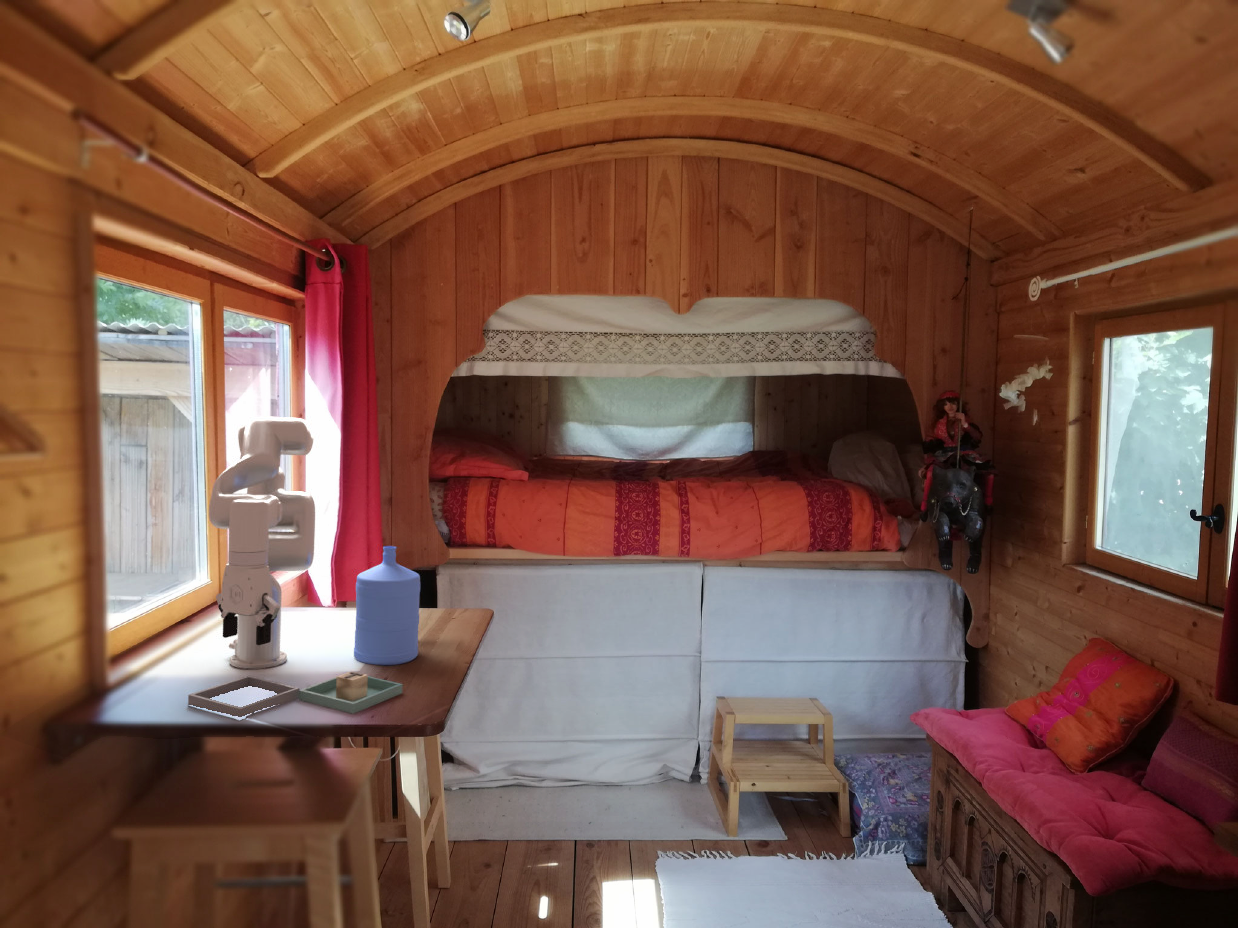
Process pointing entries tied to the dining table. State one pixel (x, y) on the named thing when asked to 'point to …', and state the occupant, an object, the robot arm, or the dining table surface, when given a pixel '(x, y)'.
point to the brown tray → (203, 697)
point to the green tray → (327, 697)
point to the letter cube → (351, 686)
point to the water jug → (387, 613)
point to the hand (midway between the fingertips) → (246, 639)
